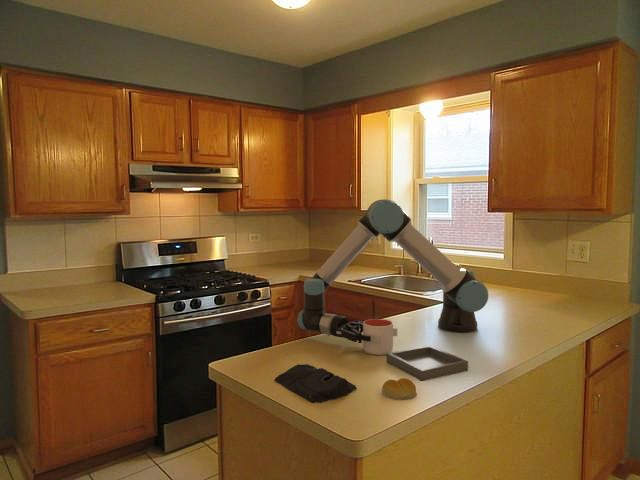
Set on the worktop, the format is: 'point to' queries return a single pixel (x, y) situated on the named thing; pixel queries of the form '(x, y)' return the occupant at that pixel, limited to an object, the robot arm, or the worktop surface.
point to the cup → (381, 329)
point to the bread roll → (399, 389)
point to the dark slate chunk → (314, 383)
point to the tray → (426, 362)
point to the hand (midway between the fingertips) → (388, 336)
